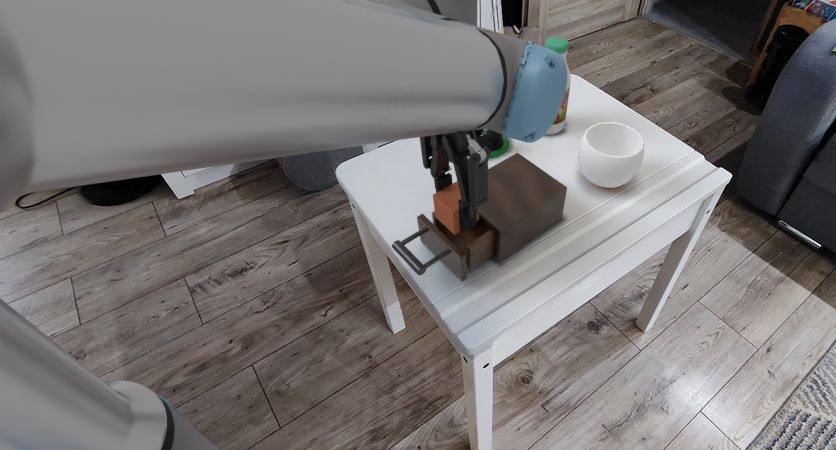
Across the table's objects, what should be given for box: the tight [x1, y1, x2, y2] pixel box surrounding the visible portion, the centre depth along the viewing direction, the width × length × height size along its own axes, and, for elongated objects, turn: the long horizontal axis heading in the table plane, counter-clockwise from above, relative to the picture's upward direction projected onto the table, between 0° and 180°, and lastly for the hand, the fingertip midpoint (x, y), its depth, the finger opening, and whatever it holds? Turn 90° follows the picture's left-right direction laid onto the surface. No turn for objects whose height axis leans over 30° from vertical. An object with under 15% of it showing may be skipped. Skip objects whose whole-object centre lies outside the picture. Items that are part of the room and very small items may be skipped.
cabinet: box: [479, 152, 568, 264], centre depth 81 cm, size 16×13×8 cm
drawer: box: [391, 210, 497, 282], centre depth 76 cm, size 21×11×6 cm, turn 132°
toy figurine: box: [474, 129, 510, 159], centre depth 97 cm, size 10×10×6 cm
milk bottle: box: [544, 35, 572, 135], centre depth 97 cm, size 8×8×20 cm
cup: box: [577, 121, 645, 189], centre depth 89 cm, size 12×12×10 cm
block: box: [432, 180, 479, 235], centre depth 71 cm, size 5×5×5 cm
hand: (457, 217), depth 72 cm, fingers closed on block, 5 cm apart
